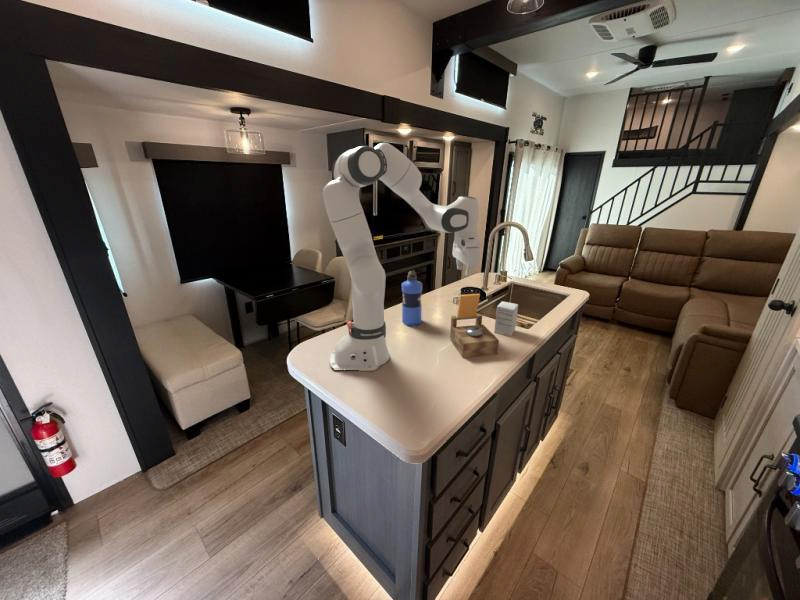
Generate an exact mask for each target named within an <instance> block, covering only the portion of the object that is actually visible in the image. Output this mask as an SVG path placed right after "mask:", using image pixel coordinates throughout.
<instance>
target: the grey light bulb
mask: <svg viewBox="0 0 800 600" xmlns="http://www.w3.org/2000/svg"><path fill="white" fill-rule="evenodd" d="M466 335H468V336H470V337H480V336H482V329H481V328H478V327H467V328H466Z"/></svg>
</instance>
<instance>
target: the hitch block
mask: <svg viewBox="0 0 800 600" xmlns="http://www.w3.org/2000/svg"><path fill="white" fill-rule="evenodd" d="M450 318H451V319H450V330H449V331H450V335H449V337H450V342H451V343H452V345H453V346H454V347H455V349H456V351H457V352H458V353H459V355H460V356H461V358H470V357H471V358H472V357H481V356H490V355H497V354H498V349H499V344H500V343H499V342H500V340H499V338H498V337H496V336H495V335H494V334H493V332H492V331H490V330H489V328H487V327H486V326H485V324H483V315H482V314H481V313H477V314H476V318H475V324H474V325H462V326H458V325H457V324H458V323H457V322H458V320H457V316H456V315H451V316H450ZM467 327H478V328H481V329H482V336H480V337H470V336H468V335H466V328H467Z"/></svg>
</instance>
